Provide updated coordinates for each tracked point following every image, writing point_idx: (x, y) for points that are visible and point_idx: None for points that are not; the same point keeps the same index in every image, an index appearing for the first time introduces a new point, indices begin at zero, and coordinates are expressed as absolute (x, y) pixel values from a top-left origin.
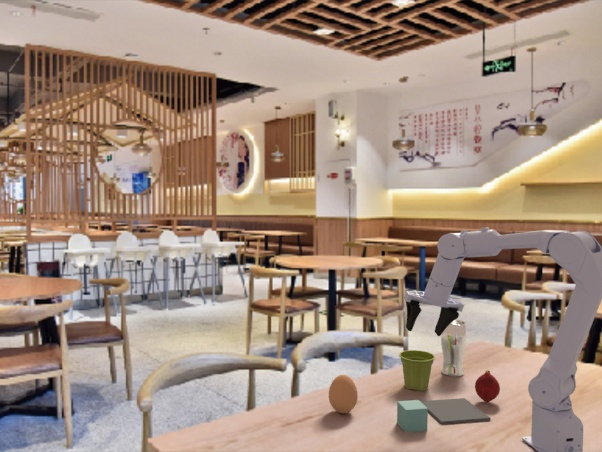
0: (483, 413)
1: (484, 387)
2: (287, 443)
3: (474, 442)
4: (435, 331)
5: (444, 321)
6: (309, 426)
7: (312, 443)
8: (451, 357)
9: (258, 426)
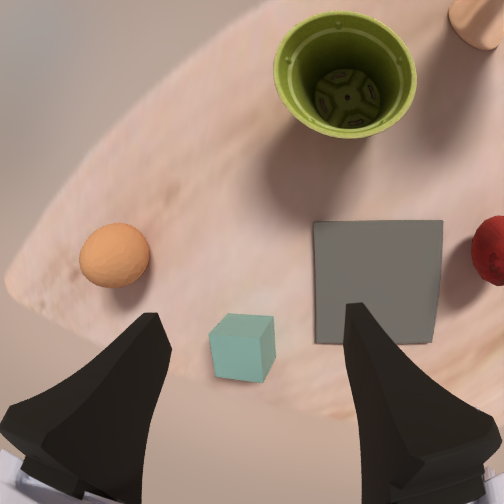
0: (432, 320)
1: (484, 277)
2: (82, 330)
3: (339, 408)
4: (346, 317)
5: (361, 437)
6: (97, 290)
7: (105, 340)
8: (484, 19)
9: (52, 274)
